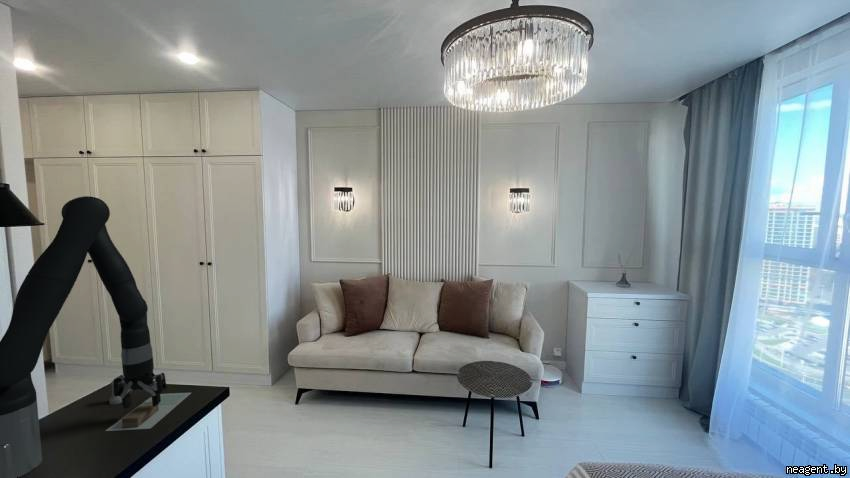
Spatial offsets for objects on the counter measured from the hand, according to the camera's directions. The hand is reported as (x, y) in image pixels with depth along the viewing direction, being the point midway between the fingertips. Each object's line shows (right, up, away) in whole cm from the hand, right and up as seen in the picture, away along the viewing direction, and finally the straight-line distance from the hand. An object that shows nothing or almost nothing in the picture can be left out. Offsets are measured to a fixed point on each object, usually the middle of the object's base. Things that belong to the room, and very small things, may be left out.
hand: (142, 406), depth 108 cm
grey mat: (0, -4, +5) cm, 6 cm away
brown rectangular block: (0, -4, 0) cm, 4 cm away
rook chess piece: (-17, -4, +10) cm, 21 cm away
